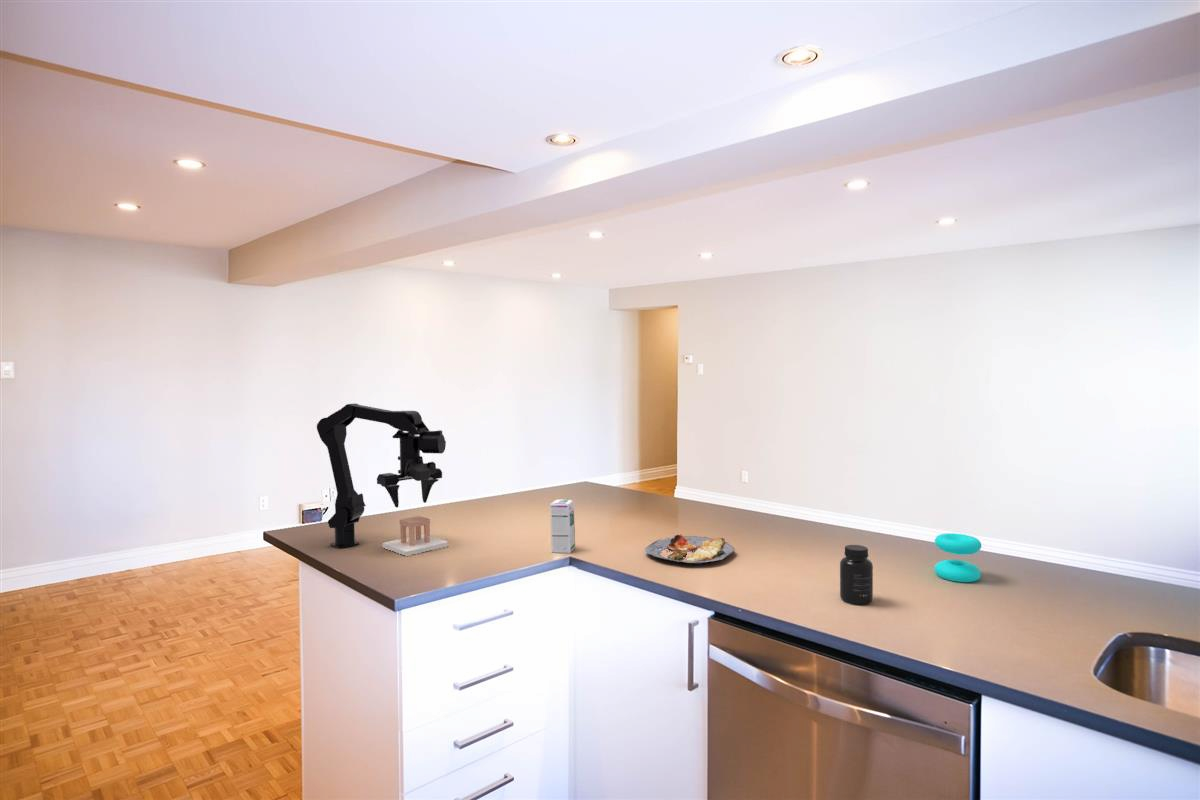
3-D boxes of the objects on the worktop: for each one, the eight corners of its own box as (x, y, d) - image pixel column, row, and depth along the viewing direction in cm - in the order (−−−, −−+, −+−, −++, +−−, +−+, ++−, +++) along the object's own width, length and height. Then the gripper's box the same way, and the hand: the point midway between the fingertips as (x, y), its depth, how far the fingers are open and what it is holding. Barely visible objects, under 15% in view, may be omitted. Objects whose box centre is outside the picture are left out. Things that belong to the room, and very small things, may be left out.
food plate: (671, 538, 197) (670, 527, 197) (744, 549, 185) (744, 537, 185) (633, 562, 175) (632, 549, 175) (713, 575, 164) (713, 562, 163)
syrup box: (570, 553, 182) (569, 503, 182) (550, 552, 184) (549, 502, 183) (575, 548, 188) (574, 499, 187) (556, 547, 189) (555, 498, 189)
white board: (382, 547, 191) (382, 543, 191) (424, 538, 201) (423, 534, 201) (406, 556, 182) (406, 551, 181) (448, 546, 192) (448, 541, 192)
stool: (411, 546, 187) (410, 522, 187) (400, 542, 191) (399, 519, 191) (430, 542, 191) (429, 518, 191) (419, 538, 196) (418, 515, 196)
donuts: (990, 542, 152) (947, 542, 152) (989, 583, 152) (947, 584, 152) (967, 531, 162) (927, 532, 162) (967, 570, 162) (927, 571, 162)
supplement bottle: (834, 595, 146) (834, 543, 145) (863, 594, 146) (863, 542, 146) (848, 606, 139) (848, 552, 138) (878, 605, 139) (879, 550, 139)
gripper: (394, 458, 178) (395, 514, 179) (451, 452, 192) (452, 503, 192) (375, 455, 186) (376, 508, 187) (432, 449, 199) (432, 498, 200)
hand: (411, 504), depth 191 cm, fingers open, 9 cm apart
